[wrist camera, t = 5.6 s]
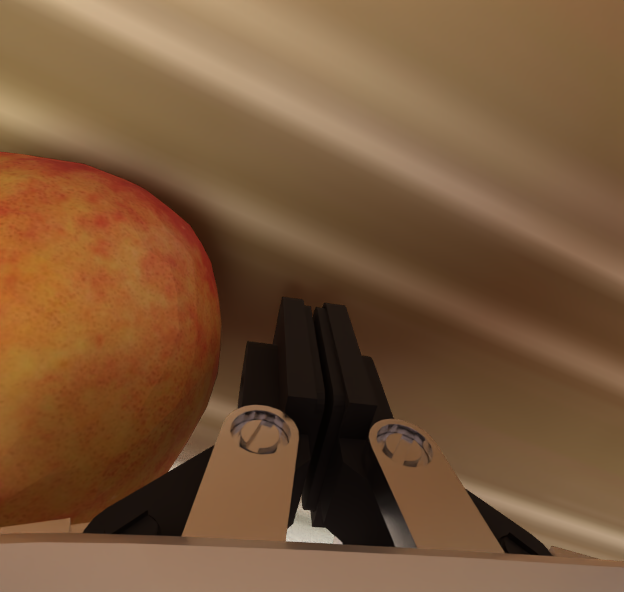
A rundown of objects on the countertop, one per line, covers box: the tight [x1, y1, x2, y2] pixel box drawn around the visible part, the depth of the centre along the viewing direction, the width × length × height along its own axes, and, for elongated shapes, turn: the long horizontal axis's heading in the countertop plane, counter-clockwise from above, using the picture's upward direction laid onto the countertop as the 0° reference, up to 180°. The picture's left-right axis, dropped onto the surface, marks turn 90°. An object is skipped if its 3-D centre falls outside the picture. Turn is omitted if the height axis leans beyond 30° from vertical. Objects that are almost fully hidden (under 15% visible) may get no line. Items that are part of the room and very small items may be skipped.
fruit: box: [0, 152, 221, 528], centre depth 9 cm, size 8×8×8 cm
